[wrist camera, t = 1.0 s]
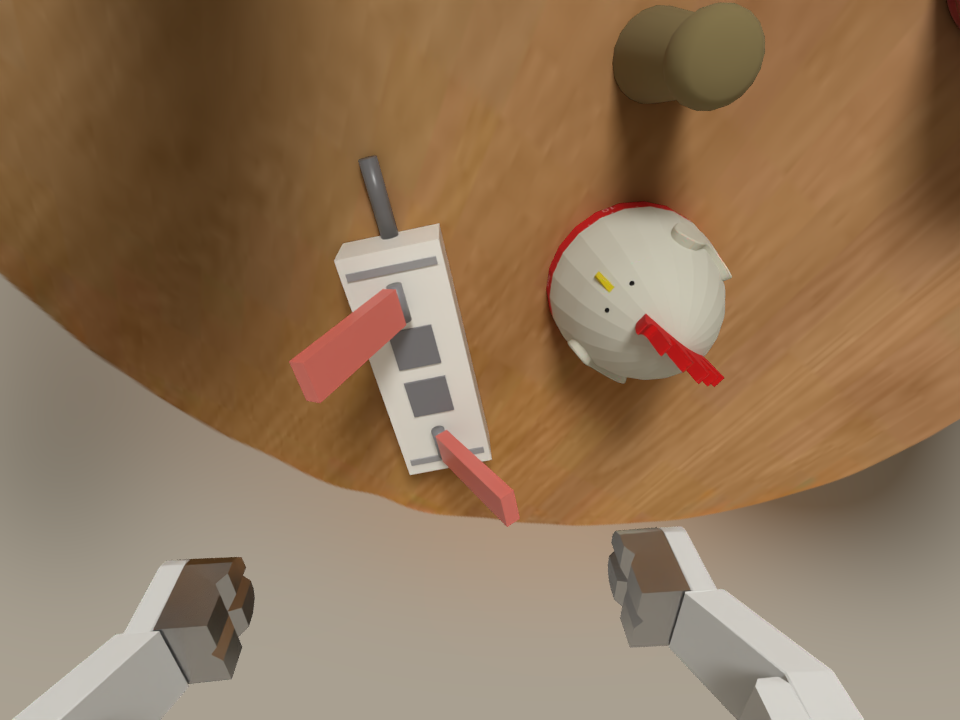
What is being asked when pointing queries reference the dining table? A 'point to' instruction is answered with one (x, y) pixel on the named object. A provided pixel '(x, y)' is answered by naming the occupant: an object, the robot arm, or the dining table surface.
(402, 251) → the power strip
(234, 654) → the robot arm
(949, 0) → the canister
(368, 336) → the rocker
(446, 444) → the rocker
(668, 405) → the dining table surface
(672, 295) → the kitchen timer
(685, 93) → the cork
